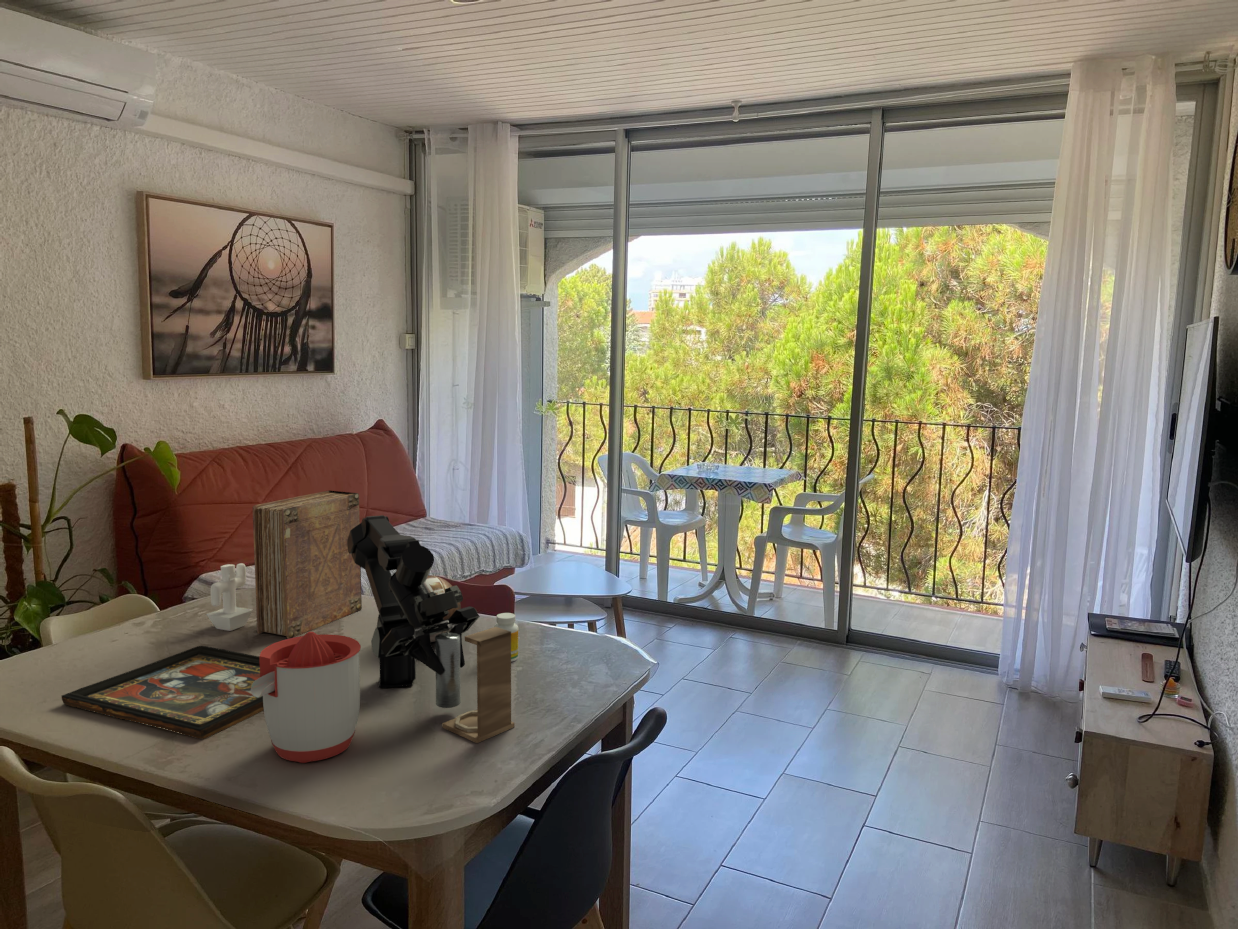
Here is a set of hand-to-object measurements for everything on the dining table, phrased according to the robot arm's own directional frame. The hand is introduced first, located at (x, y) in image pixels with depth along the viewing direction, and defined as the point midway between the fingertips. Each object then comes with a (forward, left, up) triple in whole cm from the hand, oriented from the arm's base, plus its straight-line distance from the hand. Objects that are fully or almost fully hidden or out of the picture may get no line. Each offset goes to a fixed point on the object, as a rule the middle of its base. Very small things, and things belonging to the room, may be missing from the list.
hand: (452, 670), depth 156 cm
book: (-34, +60, -9) cm, 70 cm away
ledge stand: (+4, -5, -9) cm, 11 cm away
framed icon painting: (-48, +19, -9) cm, 52 cm away
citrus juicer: (-23, -10, -9) cm, 27 cm away
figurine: (-52, +58, -9) cm, 79 cm away
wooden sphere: (-6, +42, -9) cm, 44 cm away
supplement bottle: (+11, +28, -9) cm, 31 cm away
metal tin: (-1, +1, -7) cm, 7 cm away
